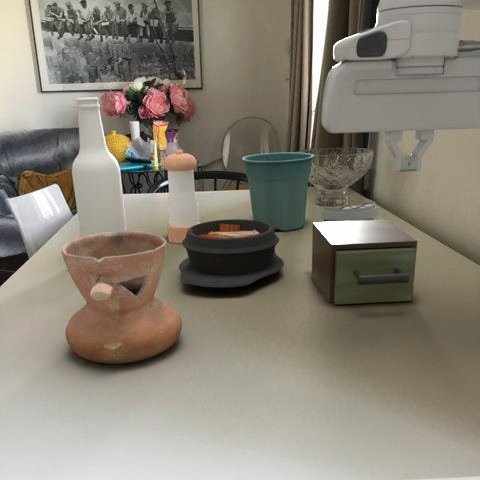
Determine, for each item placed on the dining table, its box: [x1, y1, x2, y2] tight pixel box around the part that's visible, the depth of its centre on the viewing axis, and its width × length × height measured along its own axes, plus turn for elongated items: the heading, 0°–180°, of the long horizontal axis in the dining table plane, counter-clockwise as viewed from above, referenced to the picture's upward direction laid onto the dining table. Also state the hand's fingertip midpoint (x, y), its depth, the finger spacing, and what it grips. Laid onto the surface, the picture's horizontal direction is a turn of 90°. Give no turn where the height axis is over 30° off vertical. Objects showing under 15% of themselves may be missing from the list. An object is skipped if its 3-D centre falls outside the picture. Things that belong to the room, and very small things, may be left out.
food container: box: [320, 198, 379, 222], centre depth 107 cm, size 12×6×10 cm, turn 126°
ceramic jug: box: [61, 230, 183, 365], centre depth 71 cm, size 18×14×14 cm
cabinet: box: [311, 219, 418, 304], centre depth 90 cm, size 15×13×10 cm
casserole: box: [178, 218, 285, 289], centre depth 99 cm, size 25×19×8 cm
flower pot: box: [241, 151, 315, 232], centre depth 132 cm, size 16×16×16 cm
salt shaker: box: [162, 149, 201, 244], centre depth 122 cm, size 7×7×19 cm
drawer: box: [333, 247, 417, 305], centre depth 86 cm, size 18×11×8 cm, turn 4°
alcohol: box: [71, 96, 128, 237], centre depth 106 cm, size 9×9×30 cm
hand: (405, 171), depth 67 cm, fingers closed
